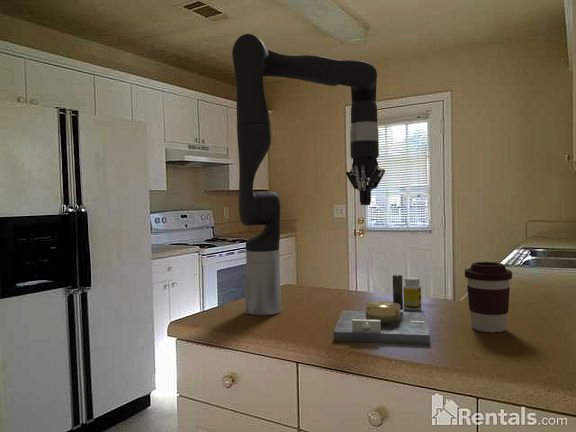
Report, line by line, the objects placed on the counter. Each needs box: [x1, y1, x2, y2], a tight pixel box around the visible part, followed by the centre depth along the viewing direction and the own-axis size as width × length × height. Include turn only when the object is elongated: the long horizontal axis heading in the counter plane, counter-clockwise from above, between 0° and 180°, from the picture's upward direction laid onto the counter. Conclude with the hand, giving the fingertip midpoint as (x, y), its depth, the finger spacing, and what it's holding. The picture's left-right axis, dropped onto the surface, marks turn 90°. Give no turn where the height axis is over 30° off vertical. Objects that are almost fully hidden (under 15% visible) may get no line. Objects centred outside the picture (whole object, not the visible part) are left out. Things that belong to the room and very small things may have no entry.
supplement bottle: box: [403, 276, 422, 311], centre depth 126 cm, size 5×5×8 cm
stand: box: [333, 310, 431, 346], centre depth 106 cm, size 20×19×4 cm
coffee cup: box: [464, 261, 513, 334], centre depth 105 cm, size 10×10×15 cm
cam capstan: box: [364, 274, 404, 323], centre depth 110 cm, size 15×8×8 cm, turn 146°
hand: (365, 205), depth 124 cm, fingers closed
